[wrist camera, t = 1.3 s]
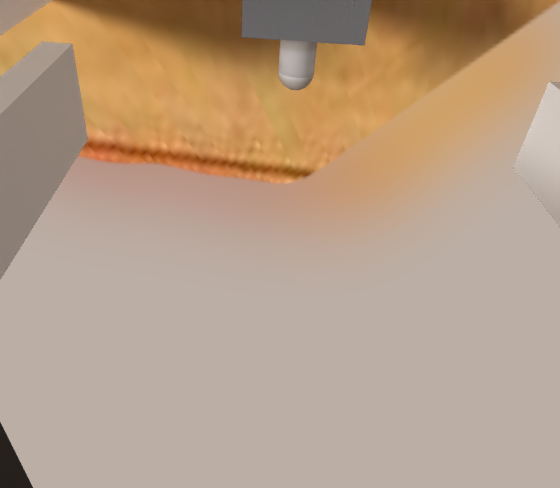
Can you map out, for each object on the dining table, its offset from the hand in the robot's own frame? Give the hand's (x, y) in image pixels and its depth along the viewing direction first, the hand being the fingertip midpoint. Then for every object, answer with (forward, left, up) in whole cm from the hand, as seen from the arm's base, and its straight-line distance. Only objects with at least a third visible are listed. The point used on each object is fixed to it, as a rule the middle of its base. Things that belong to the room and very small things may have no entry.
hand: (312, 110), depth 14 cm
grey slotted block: (-1, +1, -22) cm, 22 cm away
